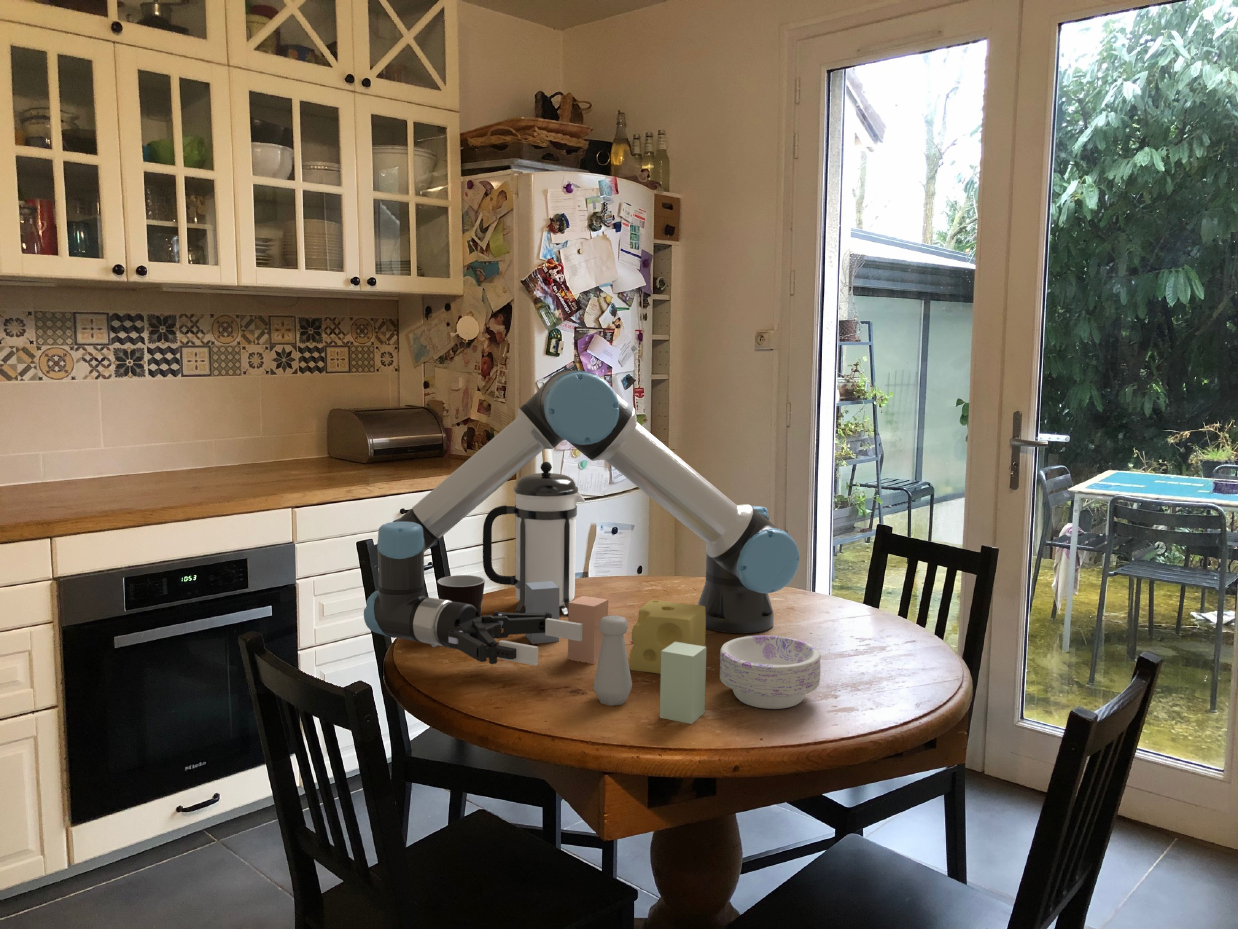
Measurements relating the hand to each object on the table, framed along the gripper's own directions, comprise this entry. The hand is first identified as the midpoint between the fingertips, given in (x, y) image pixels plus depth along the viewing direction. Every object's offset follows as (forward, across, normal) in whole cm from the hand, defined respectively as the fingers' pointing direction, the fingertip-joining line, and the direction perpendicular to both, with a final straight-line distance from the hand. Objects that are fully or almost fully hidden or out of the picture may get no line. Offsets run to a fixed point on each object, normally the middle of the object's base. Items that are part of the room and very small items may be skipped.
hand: (560, 644), depth 151 cm
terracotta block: (-4, -16, -8) cm, 18 cm away
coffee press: (-27, -38, -8) cm, 47 cm away
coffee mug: (-31, -18, -8) cm, 37 cm away
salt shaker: (+9, 0, -8) cm, 12 cm away
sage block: (+21, 0, -8) cm, 22 cm away
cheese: (+10, -19, -8) cm, 23 cm away
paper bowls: (+30, -13, -8) cm, 33 cm away
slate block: (-16, -21, -8) cm, 28 cm away
